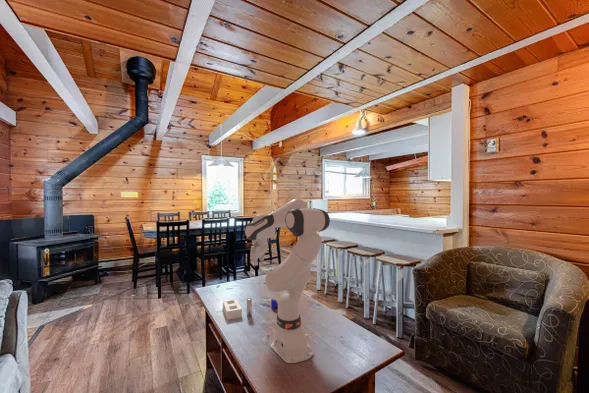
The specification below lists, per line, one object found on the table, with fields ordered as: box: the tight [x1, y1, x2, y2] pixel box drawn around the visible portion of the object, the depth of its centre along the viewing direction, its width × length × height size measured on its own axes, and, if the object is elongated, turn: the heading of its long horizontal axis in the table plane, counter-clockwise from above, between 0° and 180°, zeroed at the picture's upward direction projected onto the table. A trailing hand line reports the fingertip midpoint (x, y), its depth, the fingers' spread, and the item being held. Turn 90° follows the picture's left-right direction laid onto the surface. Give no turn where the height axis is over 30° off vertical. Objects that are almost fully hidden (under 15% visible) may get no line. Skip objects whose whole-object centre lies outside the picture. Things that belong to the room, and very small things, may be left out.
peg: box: [246, 297, 253, 318], centre depth 157 cm, size 3×3×10 cm
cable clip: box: [270, 298, 278, 311], centre depth 171 cm, size 12×4×6 cm, turn 142°
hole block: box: [222, 298, 243, 321], centre depth 161 cm, size 16×9×5 cm, turn 24°
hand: (259, 263), depth 157 cm, fingers open, 8 cm apart
